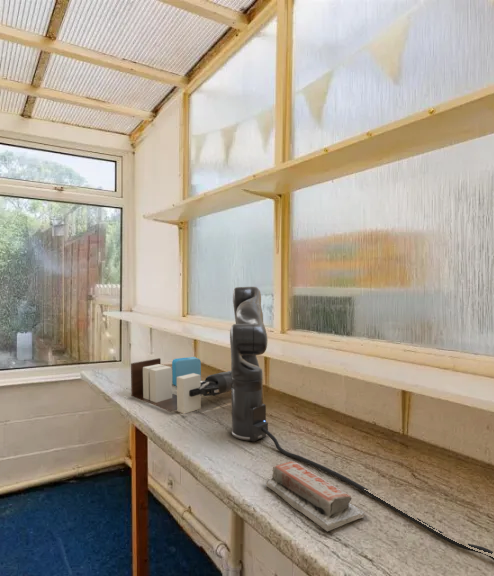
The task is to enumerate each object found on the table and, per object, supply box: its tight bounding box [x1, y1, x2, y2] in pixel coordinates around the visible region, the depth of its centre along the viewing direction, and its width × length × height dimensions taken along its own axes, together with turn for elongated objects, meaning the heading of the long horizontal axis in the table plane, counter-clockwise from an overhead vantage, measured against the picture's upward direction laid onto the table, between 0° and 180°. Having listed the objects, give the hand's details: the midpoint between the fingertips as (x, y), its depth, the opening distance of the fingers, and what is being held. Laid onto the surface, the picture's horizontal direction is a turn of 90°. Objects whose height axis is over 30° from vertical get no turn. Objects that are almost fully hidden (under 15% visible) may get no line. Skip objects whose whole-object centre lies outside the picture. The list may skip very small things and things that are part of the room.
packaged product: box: [266, 461, 365, 532], centre depth 80 cm, size 18×5×10 cm
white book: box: [143, 363, 165, 400], centre depth 150 cm, size 4×8×12 cm, turn 130°
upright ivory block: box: [176, 373, 202, 415], centre depth 134 cm, size 4×8×12 cm, turn 130°
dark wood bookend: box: [130, 357, 177, 412], centre depth 147 cm, size 25×14×14 cm, turn 40°
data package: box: [171, 356, 202, 387], centre depth 169 cm, size 12×4×12 cm, turn 113°
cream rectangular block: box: [150, 365, 173, 403], centre depth 147 cm, size 4×8×12 cm, turn 130°
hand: (186, 392), depth 134 cm, fingers closed on upright ivory block, 3 cm apart
